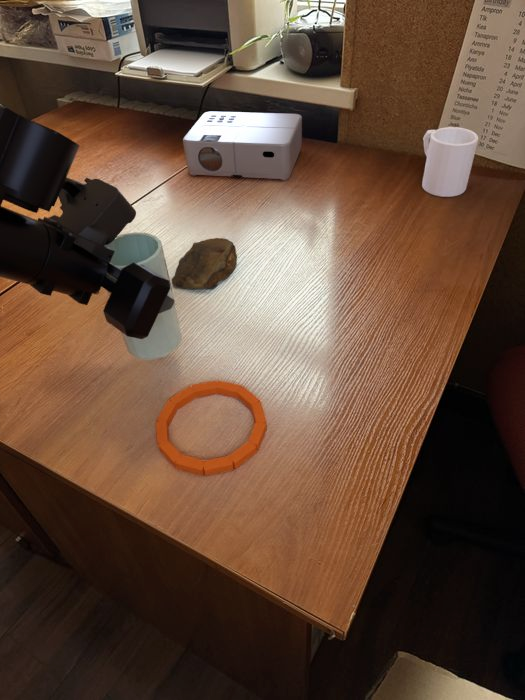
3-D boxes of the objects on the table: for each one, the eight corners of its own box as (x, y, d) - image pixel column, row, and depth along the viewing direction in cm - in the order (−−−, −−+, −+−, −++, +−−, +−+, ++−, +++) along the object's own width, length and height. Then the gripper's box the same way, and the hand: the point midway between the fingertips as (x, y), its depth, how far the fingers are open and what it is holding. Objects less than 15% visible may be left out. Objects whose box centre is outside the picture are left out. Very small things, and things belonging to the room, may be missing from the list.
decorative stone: (220, 296, 76) (218, 277, 73) (163, 287, 78) (159, 269, 76) (242, 258, 83) (240, 239, 81) (189, 250, 85) (186, 232, 83)
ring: (161, 485, 53) (159, 479, 52) (155, 398, 62) (153, 392, 61) (276, 461, 55) (275, 455, 54) (253, 379, 63) (253, 373, 62)
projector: (209, 145, 117) (204, 110, 111) (302, 149, 113) (302, 112, 107) (186, 177, 105) (179, 140, 100) (289, 183, 101) (288, 144, 96)
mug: (434, 166, 103) (444, 117, 96) (474, 190, 95) (488, 138, 88) (401, 175, 101) (409, 125, 94) (439, 201, 93) (450, 148, 86)
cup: (126, 364, 59) (94, 272, 50) (126, 327, 64) (97, 237, 55) (184, 354, 60) (163, 261, 51) (179, 318, 65) (159, 228, 56)
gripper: (129, 198, 39) (240, 256, 52) (14, 141, 48) (133, 202, 62) (71, 327, 40) (194, 351, 54) (-29, 247, 50) (96, 284, 63)
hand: (152, 291), depth 58 cm, fingers closed on cup, 7 cm apart
